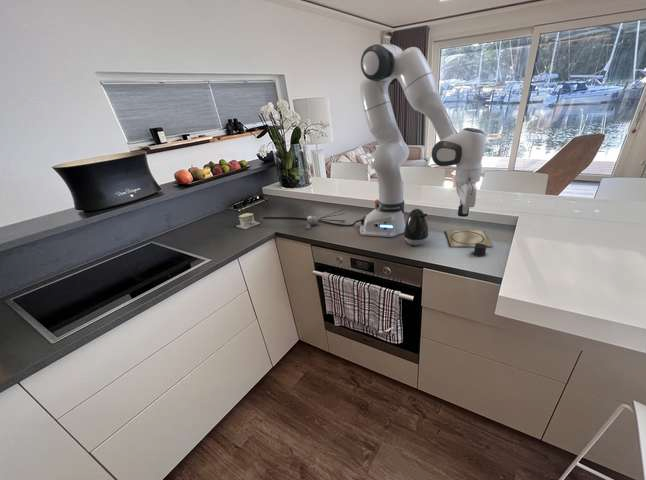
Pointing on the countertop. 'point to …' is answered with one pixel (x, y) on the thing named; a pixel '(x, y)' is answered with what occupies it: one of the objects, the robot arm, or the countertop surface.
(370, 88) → the robot arm
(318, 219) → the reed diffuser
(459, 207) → the black ribbed knob
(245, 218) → the stacked layers on plate
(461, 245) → the sketch board
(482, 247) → the dot right
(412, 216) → the pump dispenser
